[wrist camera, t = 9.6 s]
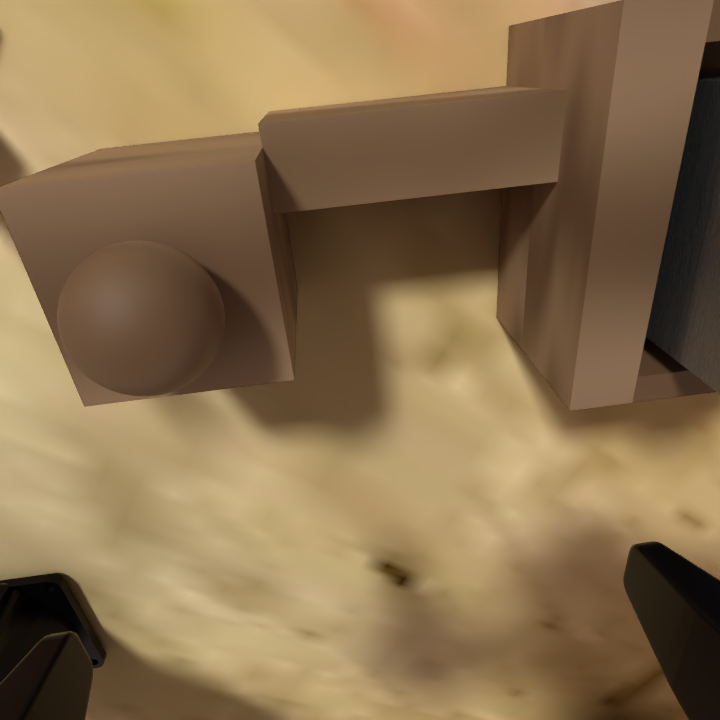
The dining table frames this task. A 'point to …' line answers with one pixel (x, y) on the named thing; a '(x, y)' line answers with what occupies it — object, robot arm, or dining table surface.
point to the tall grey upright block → (693, 246)
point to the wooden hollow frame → (378, 184)
